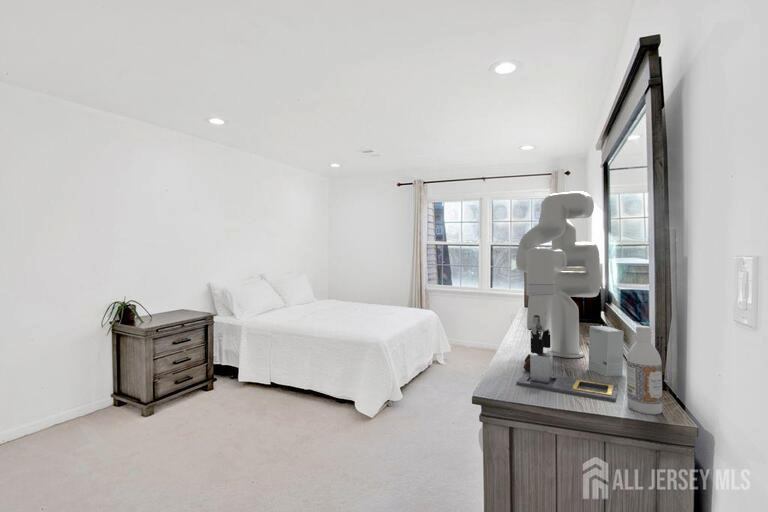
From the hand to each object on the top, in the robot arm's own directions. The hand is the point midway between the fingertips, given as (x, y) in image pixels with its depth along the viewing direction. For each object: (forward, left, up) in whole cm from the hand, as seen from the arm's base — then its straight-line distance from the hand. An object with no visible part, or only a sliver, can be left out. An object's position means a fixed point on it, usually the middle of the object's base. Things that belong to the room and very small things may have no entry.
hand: (540, 350), depth 110 cm
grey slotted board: (-1, +6, -10) cm, 12 cm away
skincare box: (-22, +14, -11) cm, 28 cm away
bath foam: (+4, +24, -11) cm, 27 cm away
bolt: (-16, -6, -11) cm, 20 cm away
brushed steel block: (-1, 0, -9) cm, 9 cm away
